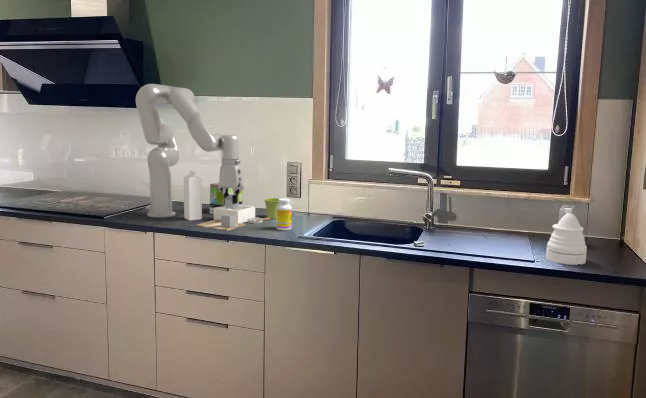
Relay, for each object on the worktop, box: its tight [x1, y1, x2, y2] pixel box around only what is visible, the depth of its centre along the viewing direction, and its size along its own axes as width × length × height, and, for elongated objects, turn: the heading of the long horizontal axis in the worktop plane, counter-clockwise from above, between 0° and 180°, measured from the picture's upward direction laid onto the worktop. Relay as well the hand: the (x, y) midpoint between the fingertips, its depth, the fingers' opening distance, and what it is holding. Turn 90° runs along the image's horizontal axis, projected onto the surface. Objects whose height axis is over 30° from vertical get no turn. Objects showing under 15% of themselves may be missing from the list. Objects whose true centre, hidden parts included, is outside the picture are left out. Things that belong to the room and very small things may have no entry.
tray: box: [195, 219, 246, 231], centre depth 233 cm, size 16×13×1 cm
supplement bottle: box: [275, 198, 293, 231], centre depth 230 cm, size 7×7×13 cm
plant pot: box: [263, 197, 281, 220], centre depth 255 cm, size 9×9×9 cm
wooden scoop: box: [246, 216, 271, 225], centre depth 244 cm, size 11×4×2 cm, turn 138°
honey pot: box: [545, 208, 588, 266], centre depth 191 cm, size 13×13×18 cm
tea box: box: [209, 181, 244, 215], centre depth 264 cm, size 15×10×15 cm
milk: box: [183, 170, 203, 221], centre depth 245 cm, size 6×6×22 cm
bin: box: [213, 204, 256, 224], centre depth 246 cm, size 13×13×6 cm
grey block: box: [224, 194, 239, 209], centre depth 247 cm, size 4×4×5 cm
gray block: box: [221, 214, 236, 228], centre depth 231 cm, size 4×4×5 cm
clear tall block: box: [558, 204, 577, 222], centre depth 217 cm, size 6×6×15 cm
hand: (230, 202), depth 246 cm, fingers closed on grey block, 4 cm apart
